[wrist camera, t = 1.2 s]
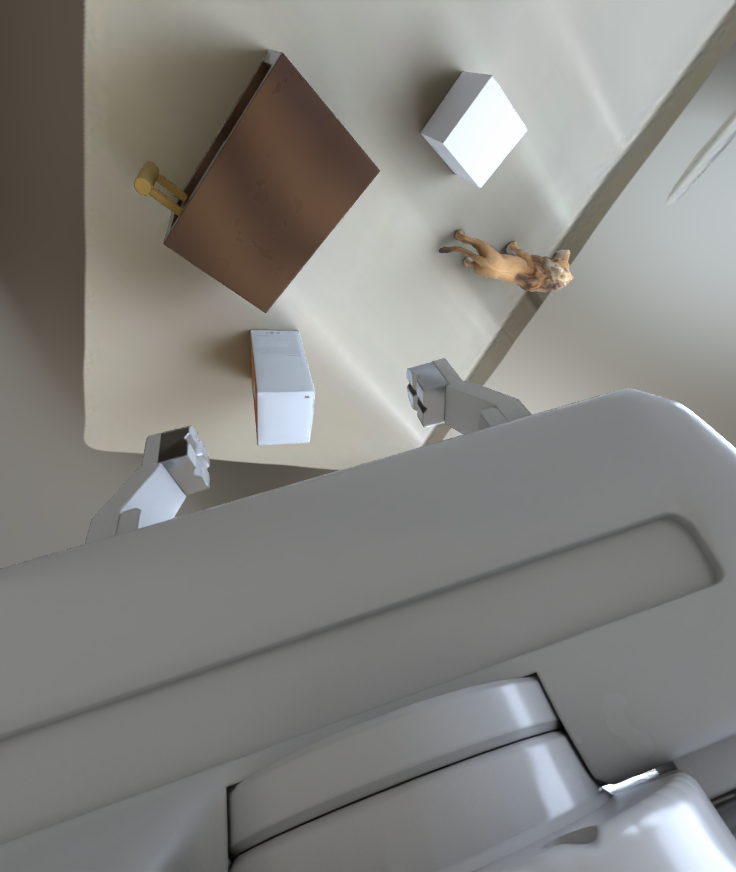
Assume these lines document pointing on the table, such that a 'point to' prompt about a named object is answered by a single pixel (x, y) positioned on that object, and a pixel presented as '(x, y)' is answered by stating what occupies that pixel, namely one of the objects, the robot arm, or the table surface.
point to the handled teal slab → (147, 181)
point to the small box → (281, 387)
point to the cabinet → (269, 186)
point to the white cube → (474, 127)
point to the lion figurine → (516, 265)
